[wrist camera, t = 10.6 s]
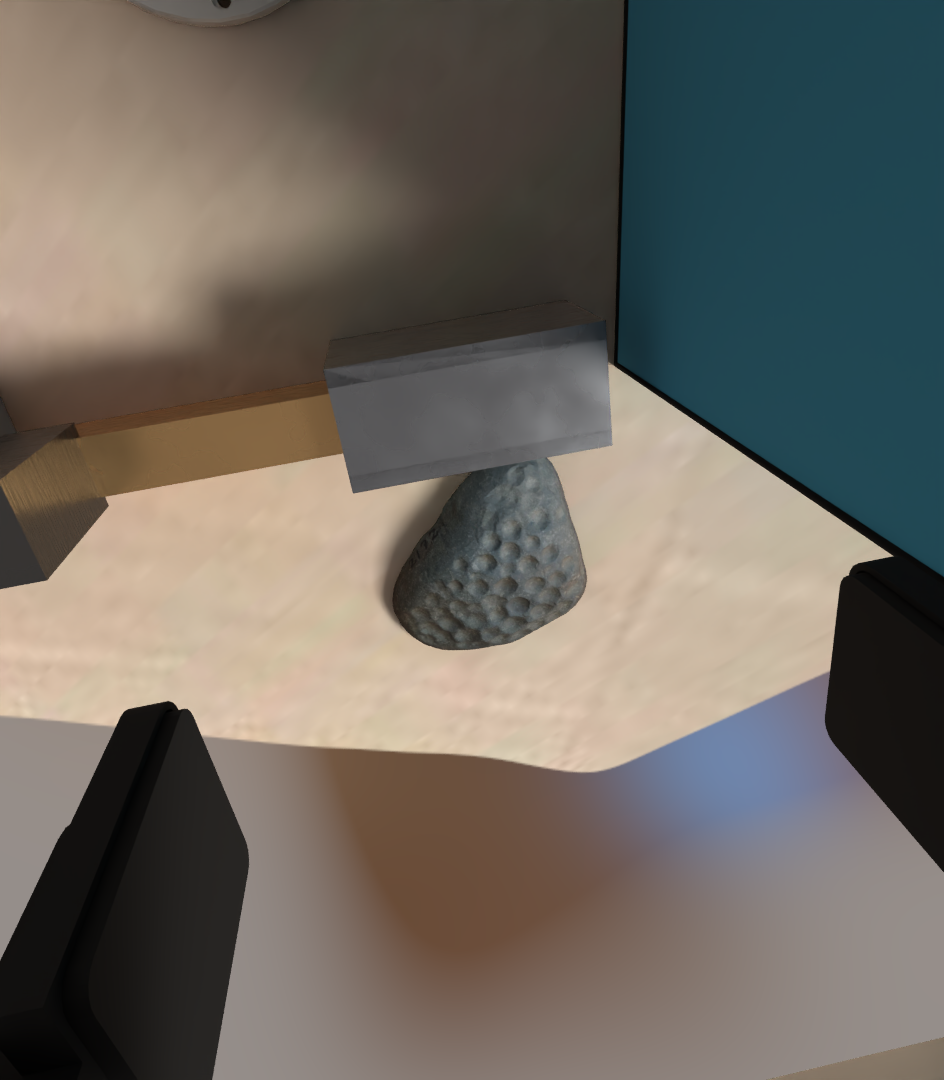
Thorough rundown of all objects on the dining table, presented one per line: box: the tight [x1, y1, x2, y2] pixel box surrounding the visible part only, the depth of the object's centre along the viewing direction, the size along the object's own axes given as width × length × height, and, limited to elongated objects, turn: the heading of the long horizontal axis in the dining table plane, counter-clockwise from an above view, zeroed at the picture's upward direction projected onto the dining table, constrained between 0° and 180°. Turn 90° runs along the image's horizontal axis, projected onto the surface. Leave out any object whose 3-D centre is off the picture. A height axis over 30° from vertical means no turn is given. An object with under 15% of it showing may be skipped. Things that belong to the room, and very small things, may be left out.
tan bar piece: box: [0, 380, 343, 589], centre depth 29 cm, size 4×22×9 cm, turn 98°
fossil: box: [393, 458, 587, 650], centre depth 40 cm, size 10×13×4 cm
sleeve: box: [323, 300, 612, 493], centre depth 33 cm, size 6×12×6 cm, turn 98°
